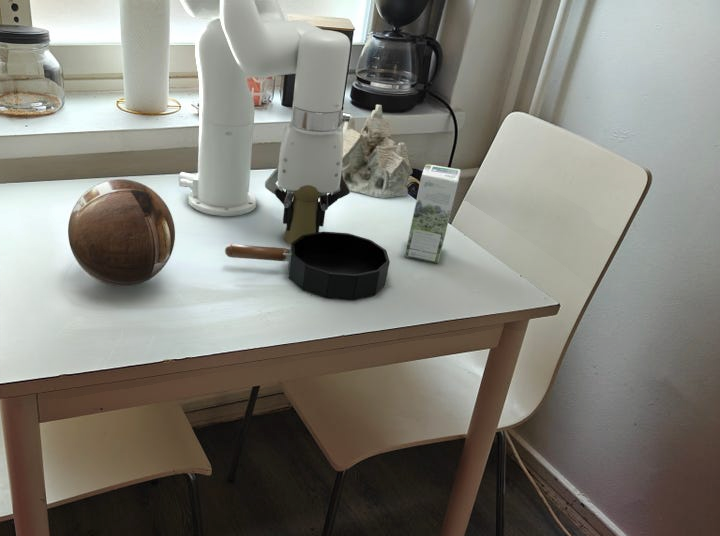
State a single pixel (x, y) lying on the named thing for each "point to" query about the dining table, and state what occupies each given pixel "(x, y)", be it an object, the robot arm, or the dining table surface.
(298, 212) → the olive game pawn
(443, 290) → the dining table surface
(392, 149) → the ceramic cottage
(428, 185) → the syrup box
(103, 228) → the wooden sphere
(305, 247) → the frying pan
